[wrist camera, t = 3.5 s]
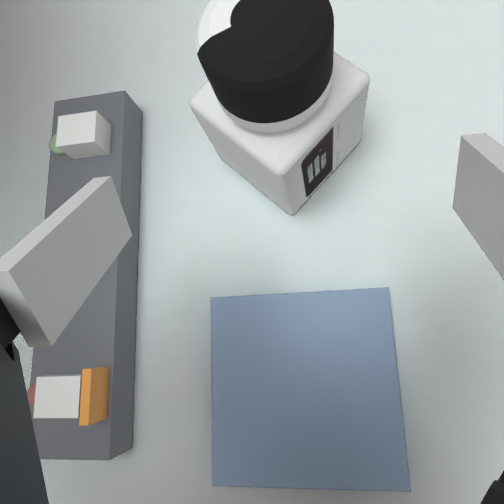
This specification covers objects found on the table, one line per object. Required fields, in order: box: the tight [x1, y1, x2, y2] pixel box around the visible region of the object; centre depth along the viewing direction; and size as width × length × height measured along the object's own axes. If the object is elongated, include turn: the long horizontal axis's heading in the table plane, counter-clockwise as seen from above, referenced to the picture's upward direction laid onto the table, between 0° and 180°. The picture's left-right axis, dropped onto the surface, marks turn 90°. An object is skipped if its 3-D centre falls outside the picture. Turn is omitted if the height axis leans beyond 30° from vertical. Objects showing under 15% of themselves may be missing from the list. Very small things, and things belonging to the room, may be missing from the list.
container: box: [189, 0, 370, 215], centre depth 24 cm, size 8×8×13 cm
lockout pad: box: [211, 288, 411, 492], centre depth 26 cm, size 12×12×1 cm
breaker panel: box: [27, 91, 142, 460], centre depth 29 cm, size 26×6×5 cm, turn 2°
